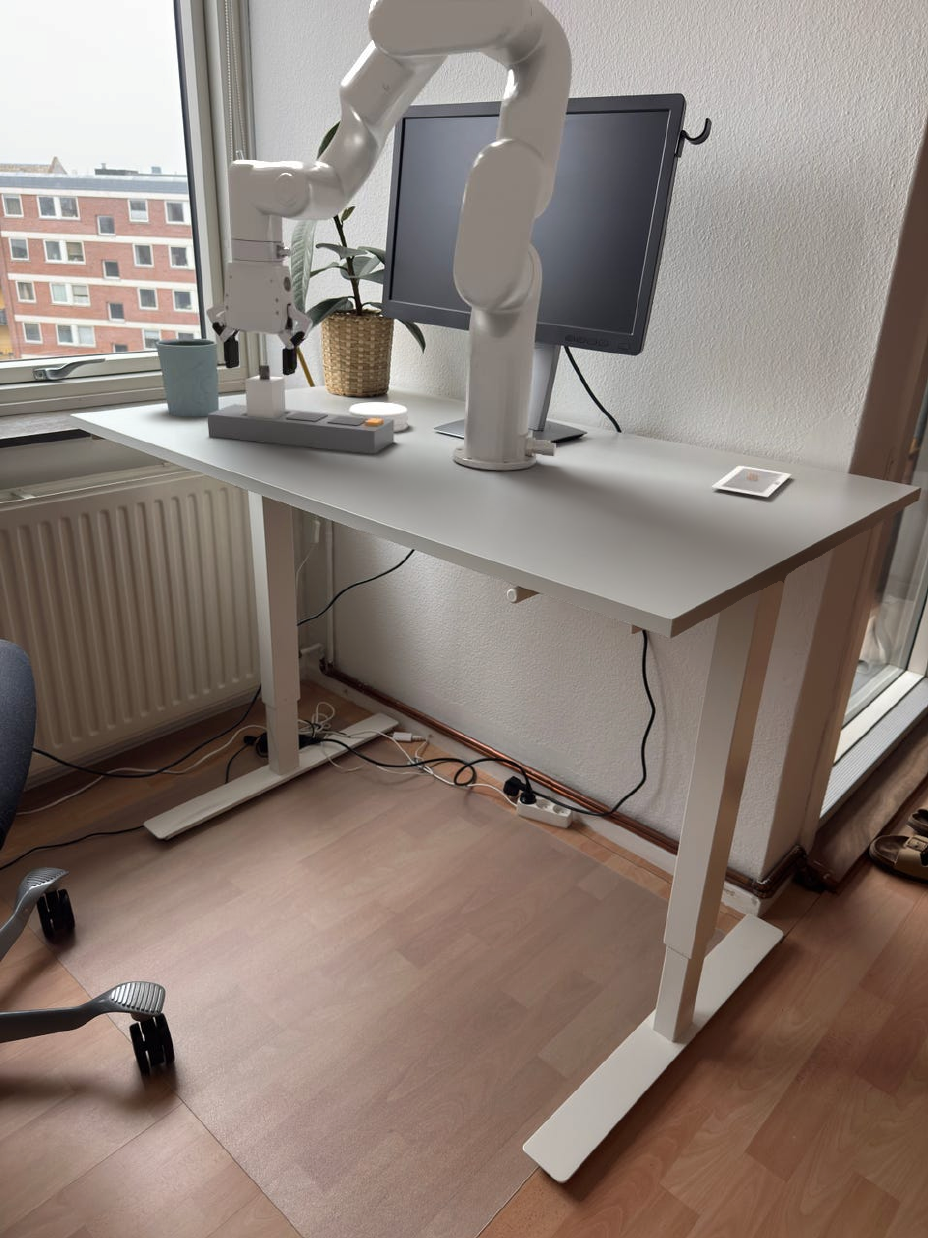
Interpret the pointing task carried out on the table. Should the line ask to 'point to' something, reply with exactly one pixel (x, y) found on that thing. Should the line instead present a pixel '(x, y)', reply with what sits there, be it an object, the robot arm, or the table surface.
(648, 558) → the table surface
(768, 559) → the table surface
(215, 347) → the blue-grey tapered cup
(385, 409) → the coaster
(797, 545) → the table surface
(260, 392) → the charger
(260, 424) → the power strip
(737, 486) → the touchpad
